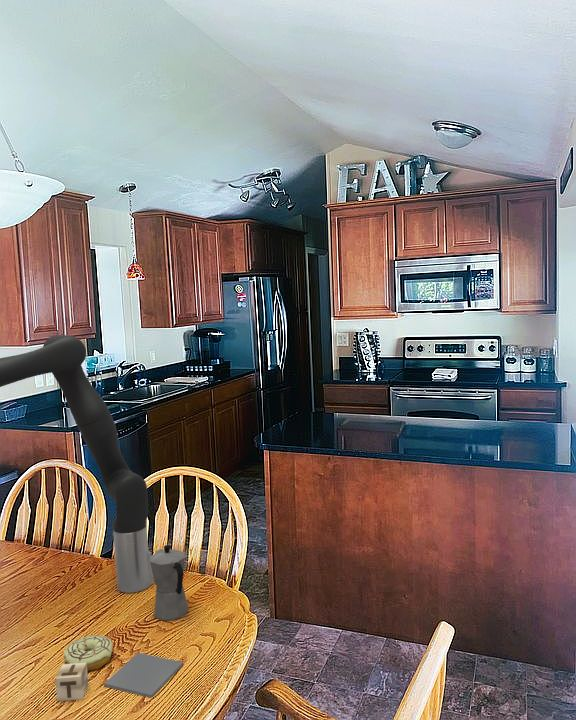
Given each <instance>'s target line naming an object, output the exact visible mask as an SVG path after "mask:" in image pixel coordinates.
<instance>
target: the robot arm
mask: <svg viewBox="0 0 576 720" xmlns="http://www.w3.org/2000/svg"><path fill="white" fill-rule="evenodd" d="M86 357H87V349H86V346H85V344H84V342H82V341H81V340H80V339H79V338H77V337H76V336H73V335H66V334H55V335H52V336H50V337H48V338H47V339H46V340H45V341H44V343H43V346H42V347H40V348H37V349H35V350H32V351H31V350H30V351H27V352H25V353H21V354H16V355H11V356H10V355H9V356H4V357H0V388H1V387H5V386H7V385H10V384H13V383H17V382H19V381H23V380H26V379H30V378H33V377H38V376H41V375H46V374H52V375H53V378H55V381H57V384H58V385H59V388H60V389H61V391H62V393H63V395H64V399H65V401H66V404H67V406H68V408H69V411H70V413H71V415H72V418H73V419H74V422H75V424H76V427H77V429H78V431H79V433H80V435H81V437H82V439H83V440H84V443H85V445H86V447H87V449H88V451H89V452H90V454H91V456H92V458H93V459H94V461H95V463H96V465H97V467H98V469H99V470H98V471H99V473H100V476H101V479H102V482H103V486H104V488H105V491H106V494H107V495H108V496H109V498H110V499H111V500H113V501H114V502H115V508H116V517H114V519H113V520H112V532H113V533H112V534H113V546H114V557H115V559H114V561H115V569H116V571H115V572H116V574H115V575H116V585H117V590H118V591H119V592H121V593H125V594H126V593H127V594H129V593H130V594H131V593H137V592H141V591H144V590H146V589H147V588H149V587H150V586H152V585H154V577H153V573H152V568H151V564H150V556H151V555H152V551H150V550H149V543H148V541H149V540H148V532H147V531H148V529H147V519H148V515H149V495H148V493H149V492H148V487H147V483H146V481H145V479H144V478H143V477H142V476H141V475H139V474H137V473H135V472H134V471H132V470H131V469H130V467H129V466H128V464H127V462H126V461H125V458H124V457H123V454H122V452H121V449H120V444H119V436H118V430H117V426H116V423H115V420H114V418H113V416H112V414H111V411H110V410H109V408H108V406H107V404H106V402H105V401H104V399H103V397H102V396H101V395H100V393H98V391H97V390H96V388H94V386H93V385H92V384H91V382H90V381H89V379H88V377H87V375H86V373H85V372H84V368H83V367H82V364H83V363H84V361H85V360H86Z"/></svg>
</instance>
